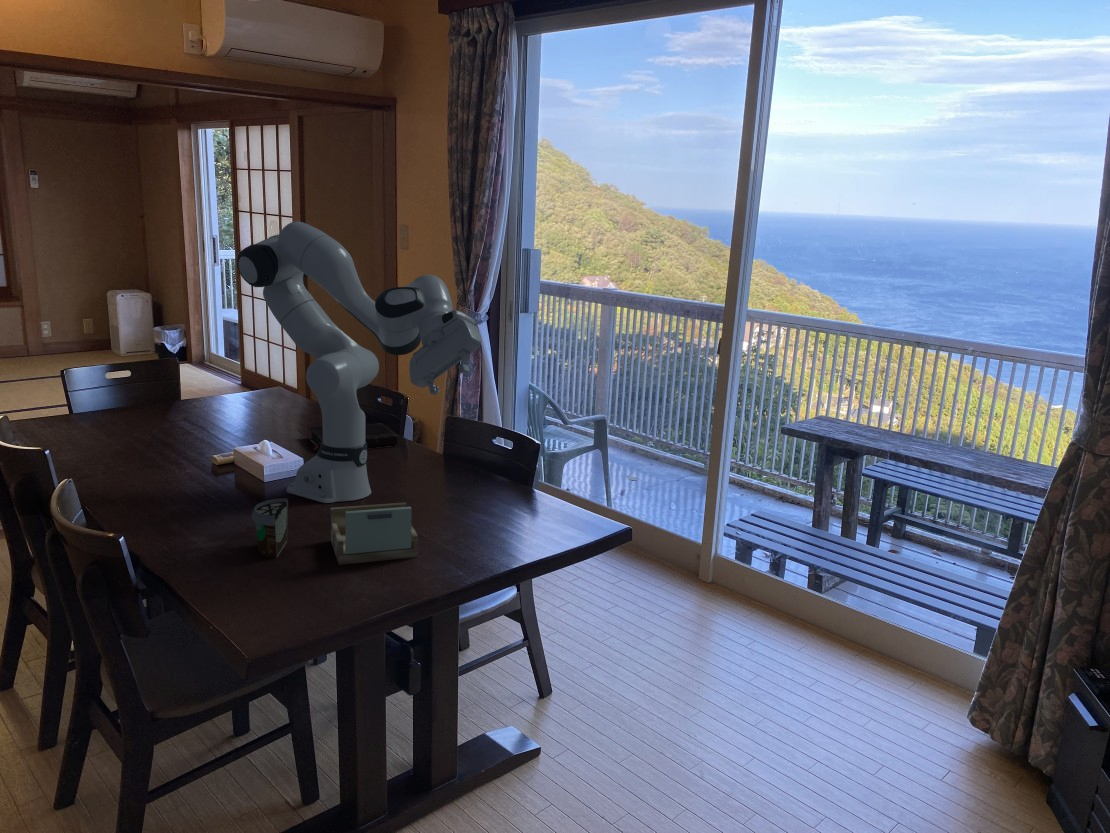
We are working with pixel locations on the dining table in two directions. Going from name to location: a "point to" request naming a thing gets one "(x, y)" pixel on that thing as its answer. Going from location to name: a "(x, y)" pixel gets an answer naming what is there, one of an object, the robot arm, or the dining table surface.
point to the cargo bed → (344, 558)
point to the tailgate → (377, 530)
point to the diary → (366, 435)
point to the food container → (271, 526)
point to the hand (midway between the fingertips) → (449, 382)
